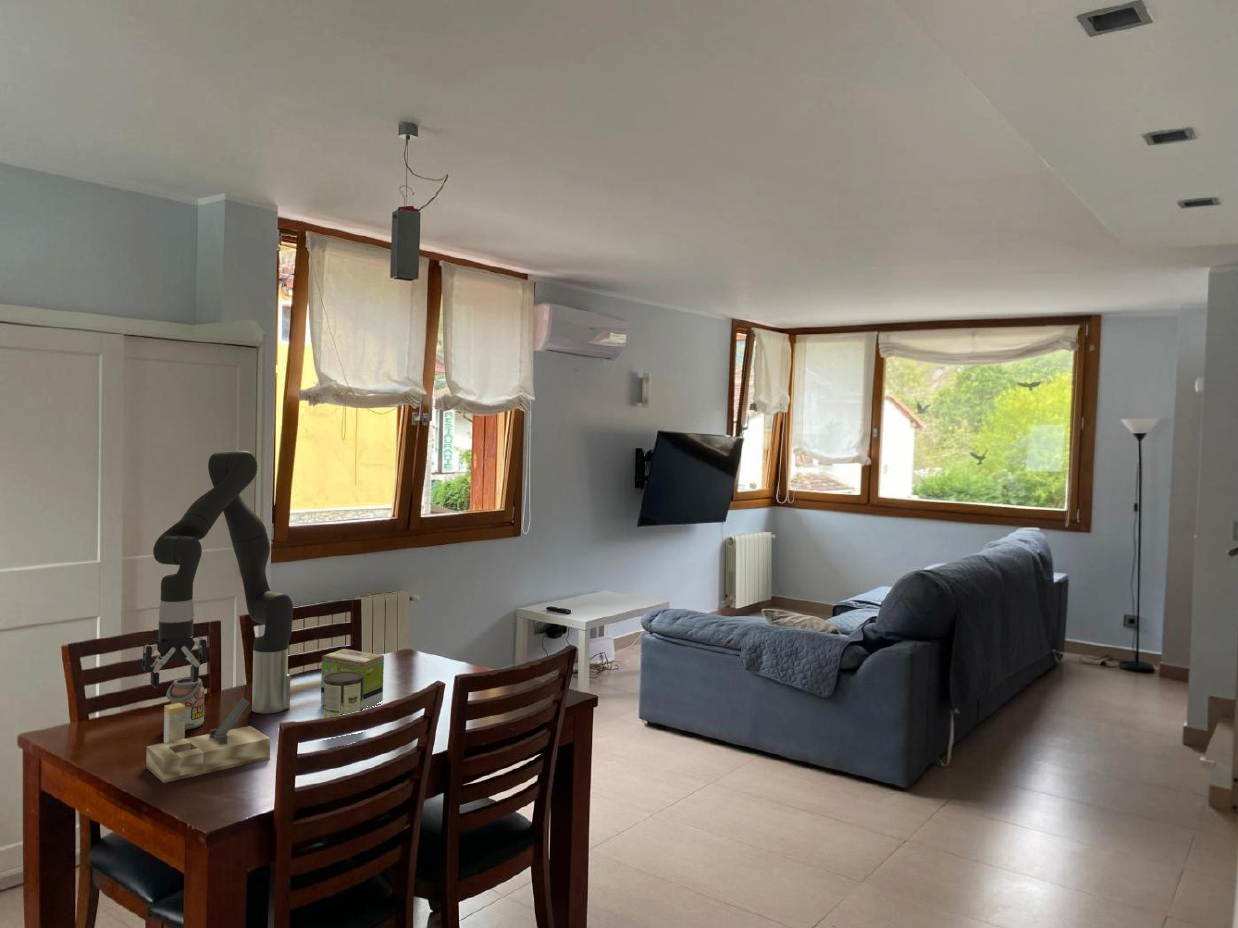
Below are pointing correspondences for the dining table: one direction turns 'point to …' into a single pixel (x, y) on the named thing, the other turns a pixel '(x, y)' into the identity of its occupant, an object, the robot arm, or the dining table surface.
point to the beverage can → (188, 700)
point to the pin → (174, 722)
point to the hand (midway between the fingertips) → (174, 684)
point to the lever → (231, 718)
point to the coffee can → (343, 693)
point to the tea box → (358, 663)
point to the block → (207, 753)
